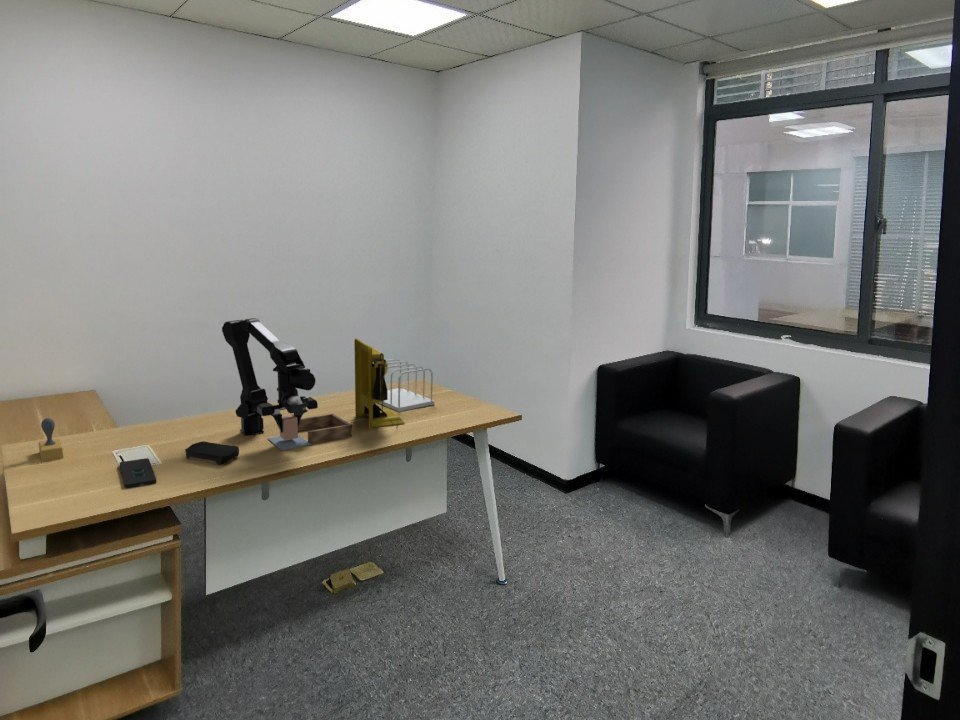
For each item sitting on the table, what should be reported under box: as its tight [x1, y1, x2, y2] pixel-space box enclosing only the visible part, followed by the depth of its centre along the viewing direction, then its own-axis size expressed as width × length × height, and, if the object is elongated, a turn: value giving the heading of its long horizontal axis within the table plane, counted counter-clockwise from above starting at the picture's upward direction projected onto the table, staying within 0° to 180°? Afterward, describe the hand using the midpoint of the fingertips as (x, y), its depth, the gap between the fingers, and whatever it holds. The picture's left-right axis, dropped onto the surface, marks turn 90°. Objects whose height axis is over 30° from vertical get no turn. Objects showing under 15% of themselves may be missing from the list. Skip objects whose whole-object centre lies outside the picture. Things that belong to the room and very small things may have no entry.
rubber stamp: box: [38, 417, 64, 462], centre depth 213 cm, size 10×6×12 cm, turn 35°
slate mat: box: [267, 434, 312, 451], centre depth 231 cm, size 10×13×1 cm
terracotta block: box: [279, 413, 299, 440], centre depth 230 cm, size 4×4×7 cm
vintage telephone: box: [354, 338, 405, 430], centre depth 253 cm, size 31×14×30 cm, turn 25°
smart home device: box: [119, 457, 157, 489], centre depth 200 cm, size 8×2×20 cm
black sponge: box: [184, 440, 240, 466], centre depth 215 cm, size 16×8×4 cm, turn 71°
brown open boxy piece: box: [298, 413, 353, 444], centre depth 240 cm, size 16×16×4 cm
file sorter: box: [378, 358, 435, 413], centre depth 283 cm, size 25×17×16 cm
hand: (288, 431), depth 230 cm, fingers closed on terracotta block, 4 cm apart
